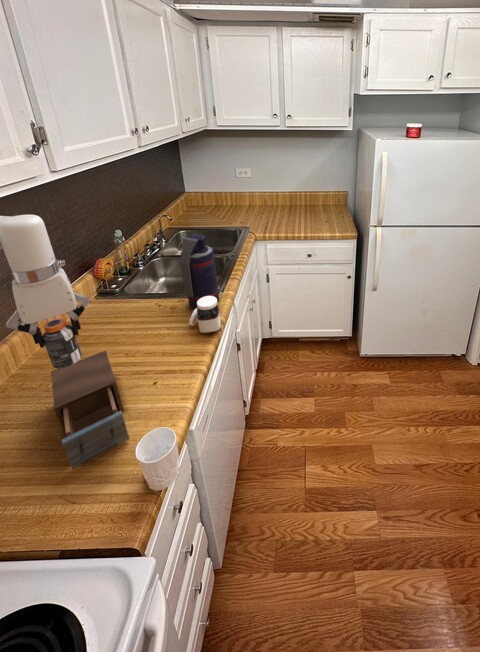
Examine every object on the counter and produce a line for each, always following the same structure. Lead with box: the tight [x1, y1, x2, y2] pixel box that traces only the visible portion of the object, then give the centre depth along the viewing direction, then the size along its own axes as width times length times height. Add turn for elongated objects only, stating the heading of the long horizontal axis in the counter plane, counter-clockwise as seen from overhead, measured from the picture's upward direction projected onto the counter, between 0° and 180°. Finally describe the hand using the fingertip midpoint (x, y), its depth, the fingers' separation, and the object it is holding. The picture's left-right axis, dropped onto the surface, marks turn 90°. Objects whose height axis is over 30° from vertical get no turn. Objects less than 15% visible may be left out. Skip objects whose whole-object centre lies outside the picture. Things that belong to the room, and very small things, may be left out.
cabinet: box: [50, 350, 125, 438], centre depth 89 cm, size 15×13×10 cm
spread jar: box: [188, 296, 222, 335], centre depth 120 cm, size 12×11×12 cm
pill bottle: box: [42, 317, 83, 369], centre depth 79 cm, size 6×6×11 cm
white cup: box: [134, 426, 180, 492], centre depth 72 cm, size 8×8×10 cm
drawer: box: [61, 387, 130, 470], centre depth 79 cm, size 18×12×8 cm, turn 39°
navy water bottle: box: [178, 233, 220, 310], centre depth 130 cm, size 14×12×30 cm
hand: (59, 337), depth 79 cm, fingers closed on pill bottle, 6 cm apart
